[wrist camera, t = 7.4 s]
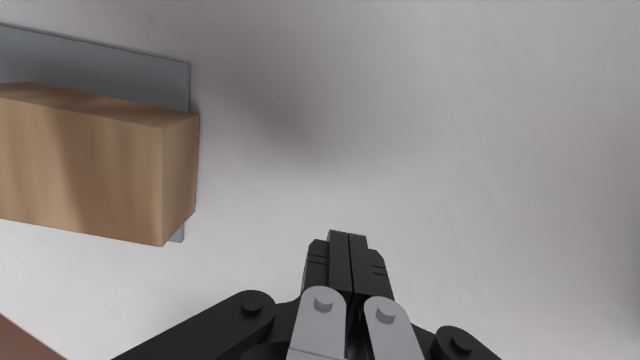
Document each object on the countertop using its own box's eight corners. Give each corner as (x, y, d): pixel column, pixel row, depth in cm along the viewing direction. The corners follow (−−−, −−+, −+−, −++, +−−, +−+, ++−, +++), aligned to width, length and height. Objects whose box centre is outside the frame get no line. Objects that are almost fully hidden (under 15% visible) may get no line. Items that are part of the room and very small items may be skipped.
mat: (190, 63, 16) (187, 63, 16) (183, 239, 20) (180, 243, 20) (-23, 20, 16) (-32, 19, 15) (12, 209, 20) (6, 211, 19)
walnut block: (162, 129, 13) (-56, 86, 13) (161, 247, 15) (-26, 214, 15) (200, 114, 17) (32, 81, 16) (195, 211, 19) (46, 183, 18)
